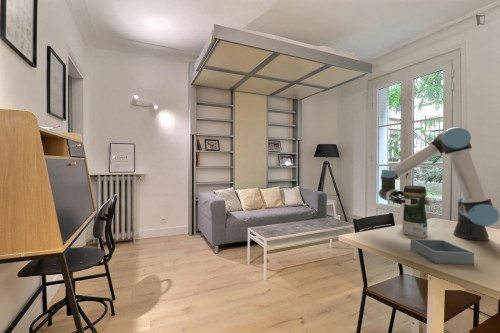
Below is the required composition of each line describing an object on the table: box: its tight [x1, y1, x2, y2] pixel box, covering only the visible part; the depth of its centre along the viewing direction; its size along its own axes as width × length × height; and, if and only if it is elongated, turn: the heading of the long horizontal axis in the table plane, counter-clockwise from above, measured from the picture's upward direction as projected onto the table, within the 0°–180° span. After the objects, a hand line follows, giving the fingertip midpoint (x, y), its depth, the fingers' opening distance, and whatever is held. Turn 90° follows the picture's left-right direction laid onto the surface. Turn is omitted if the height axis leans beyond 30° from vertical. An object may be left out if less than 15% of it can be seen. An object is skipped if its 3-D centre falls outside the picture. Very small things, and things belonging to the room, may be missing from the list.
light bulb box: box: [402, 217, 428, 238], centre depth 144 cm, size 11×7×11 cm, turn 34°
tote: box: [409, 238, 475, 266], centre depth 110 cm, size 16×18×5 cm
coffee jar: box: [402, 184, 427, 224], centre depth 120 cm, size 10×8×19 cm
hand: (420, 202), depth 115 cm, fingers closed on coffee jar, 9 cm apart
